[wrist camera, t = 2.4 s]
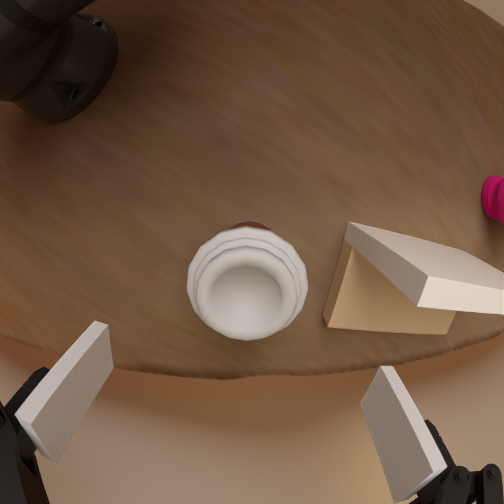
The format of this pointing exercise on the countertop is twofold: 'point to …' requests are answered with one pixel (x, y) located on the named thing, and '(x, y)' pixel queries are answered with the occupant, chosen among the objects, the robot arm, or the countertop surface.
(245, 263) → the coffee cup
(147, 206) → the countertop surface
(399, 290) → the board
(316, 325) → the countertop surface
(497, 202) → the pepper mill
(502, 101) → the countertop surface
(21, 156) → the countertop surface
